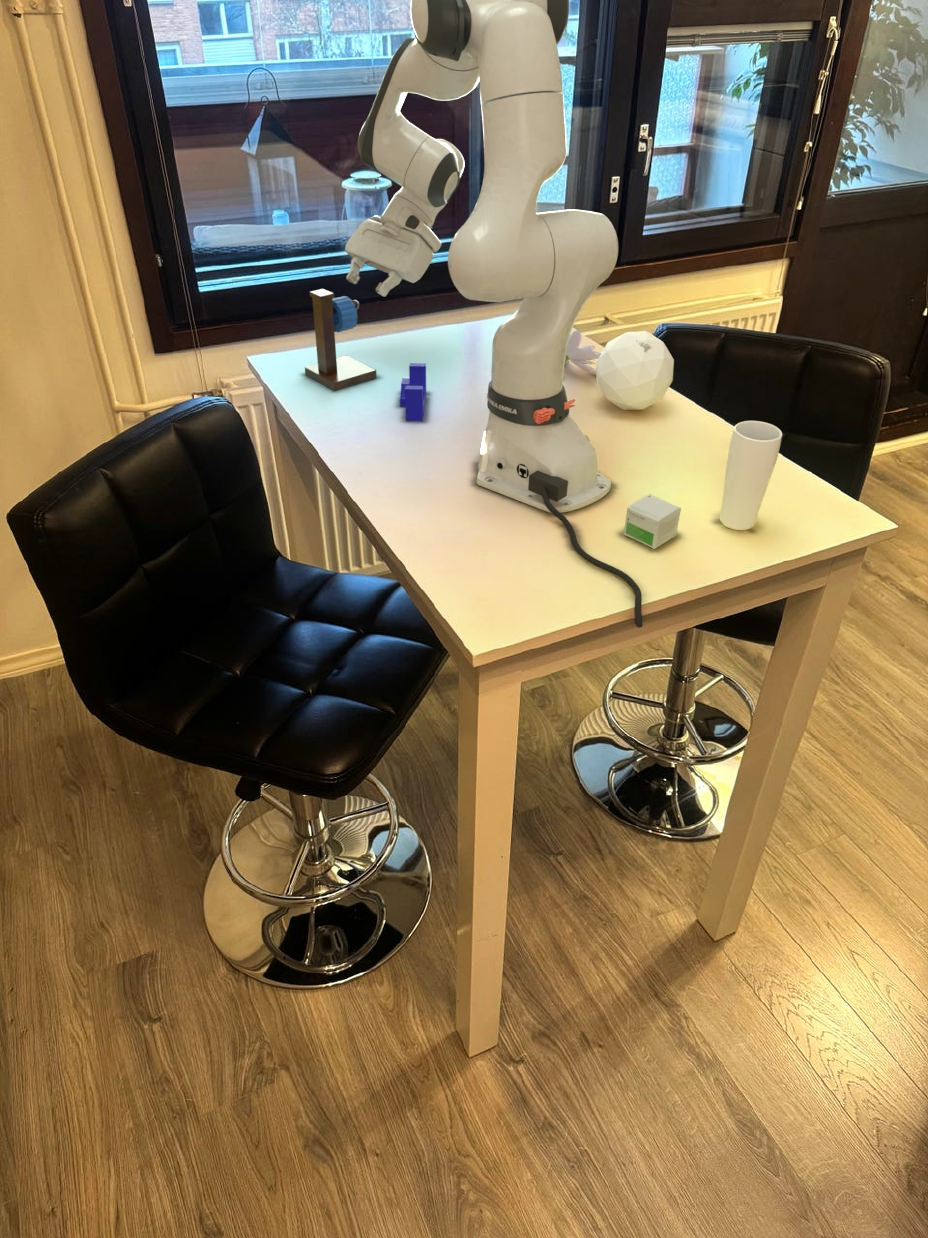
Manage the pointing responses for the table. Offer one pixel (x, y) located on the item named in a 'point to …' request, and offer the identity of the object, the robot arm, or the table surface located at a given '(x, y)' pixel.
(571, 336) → the water lily
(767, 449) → the drinking glass
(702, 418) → the table surface
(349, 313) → the fluted cylinder
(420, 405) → the cable clip
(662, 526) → the small box
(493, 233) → the robot arm
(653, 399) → the geodesic sphere
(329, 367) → the hook stand
